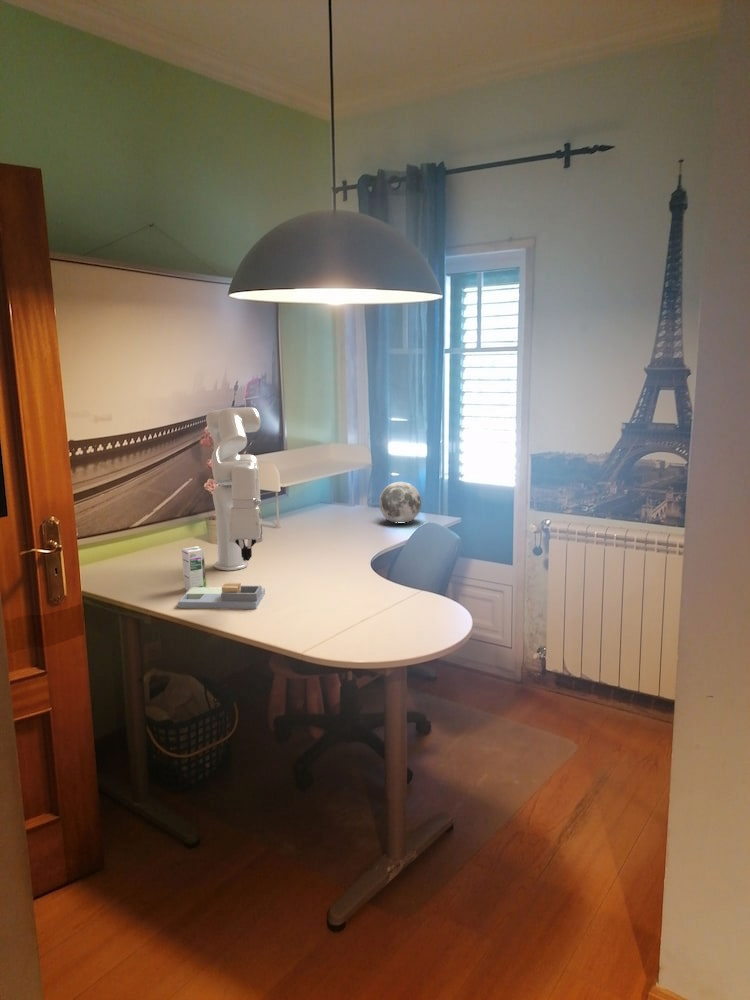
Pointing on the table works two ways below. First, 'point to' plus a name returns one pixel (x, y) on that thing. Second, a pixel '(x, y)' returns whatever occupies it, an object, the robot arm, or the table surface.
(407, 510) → the moon model
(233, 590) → the block
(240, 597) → the grey sorting tray
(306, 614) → the table surface
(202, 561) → the syrup box
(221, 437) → the robot arm
